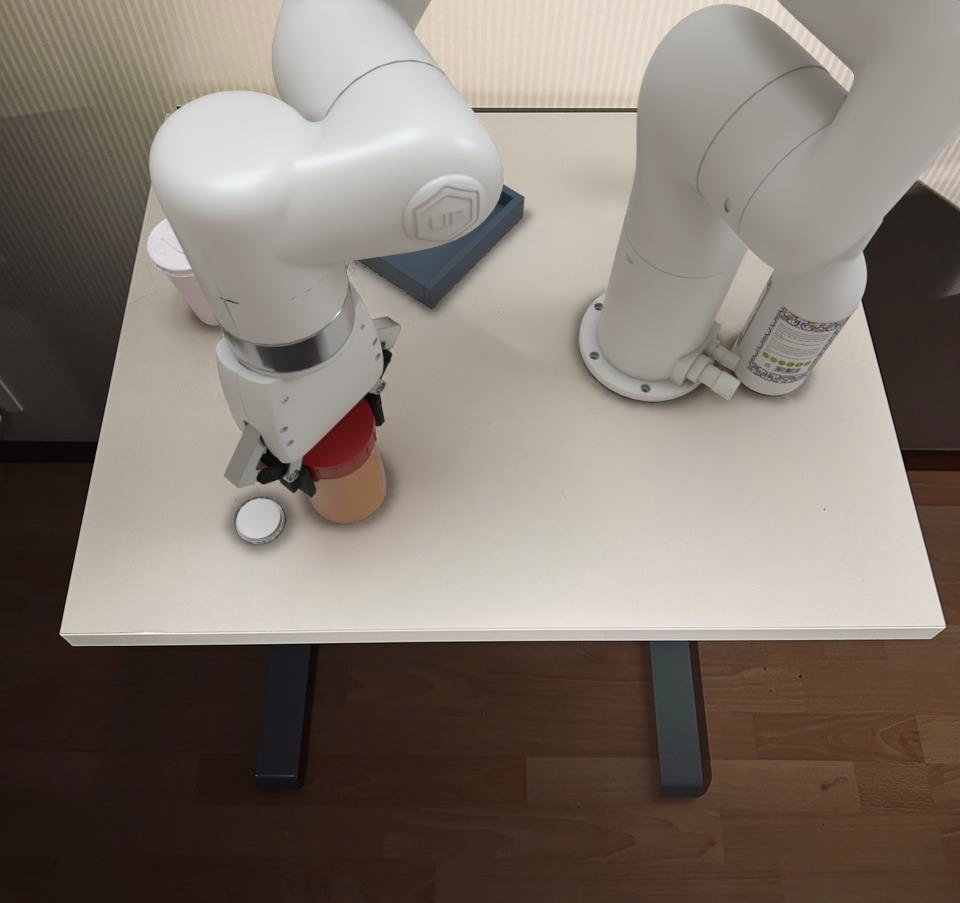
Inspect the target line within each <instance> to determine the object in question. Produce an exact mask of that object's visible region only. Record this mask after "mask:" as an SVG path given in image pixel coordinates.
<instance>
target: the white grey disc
mask: <svg viewBox="0 0 960 903" xmlns="http://www.w3.org/2000/svg"><path fill="white" fill-rule="evenodd" d="M284 512H285V511H284V510H283V508H282V505H280V504H279V502H278V501H277V500H276V499H274V498H272V497H270V496H265V495H258V496H252V497H251V498H248V499H247V500H245V501H244V502H243V503H241V504H240V505H239V506H238V508H237V510H236V512H235V514H234V519H233V525H234V529H235V531H236V533H237V534H238V535H239V537H240V538H241V539H242V540H243V541H245V542H246V543H250V544H254V545H262V544H266V543H268V542H271V541H272V540H274V539H276V537H278V536H279V534H280V533H281V532H282V530H283V528H284V525H285V513H284Z"/></svg>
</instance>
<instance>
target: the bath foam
mask: <svg viewBox="0 0 960 903" xmlns="http://www.w3.org/2000/svg"><path fill="white" fill-rule="evenodd" d="M883 221H884V217H883V218H882V220H881V221H880V222H879V223H878V224H877V225H876V226H875V227H874V228H873V229H872V230H871V231H870V232H869V233H868V234H867V235H866V236H865V237H864V238H863V239H862V240H861V241H860V242H859V243H857V244H856V245H855V246H854V247H853V248H852V249H850V250H849V251H848V252H847V253H845V254H844V255H843V256H842V257H840V258H839V259H837V260H836V261H834V262H833V263H831V264H829V265H827V266H825V267H823V268H821V269H819V270H816V271H813V272H810V273H806V274H788V273H783V272H780V271H778V270H776V269H773V271H772V272H771V275H770V277H769V278H768V280H767V283H766V284H765V286H764V288H763V289H762V291H761V293H760V295H759V297H758V299H757V301H756V303H755V304H754V306H753V308H752V310H751V312H750V314H749V315H748V318H747V320H746V321H745V324H744V325H743V327H742V329H741V331H740V333H739V335H738V337H737V339H736V340H735V342H734V345H733V347H732V350H731V352H733V353H735V354H736V355H738V356H740V357H741V360H740V362H739V363H738V365H737V366H736V368H735V369H734V370H733V372H734V374H735V376H736V378H737V379H738V380H740V381H741V383H742V384H743V385H744V386H745V387H747V388H748V389H750V390H752V391H754V392H755V393H758V394H761V395H765V396H782V395H787V394H789V393H791V392H794V391H795V390H797V389H798V388H799V387H801V385H802V384H803V383H804V381H806V378H807V377H808V376H809V375H810V373H811V372H812V371H813V369H814V368H815V367H816V365H817V364H818V362H819V361H820V360H821V358H822V357H823V355H824V354H825V353H826V352H827V350H828V349H829V347H830V346H831V345H832V344H833V342H834V340H835V339H836V338H837V336H838V335H839V333H840V332H841V331H842V330H843V328H844V327H845V325H846V324H847V322H848V321H849V320H850V319H851V317H852V316H853V314H854V313H855V312H856V310H857V309H858V307H859V305H860V303H861V301H862V299H863V296H864V293H865V291H866V286H867V280H868V269H867V263H866V259H865V254H864V250H865V249H866V247H867V245H868V244H869V243H870V241H871V240H872V238H873V237H874V235H875V234H876V232H877V231H878V229H879V228H880V227H881V225H882V223H883Z"/></svg>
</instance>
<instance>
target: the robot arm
mask: <svg viewBox="0 0 960 903" xmlns="http://www.w3.org/2000/svg"><path fill="white" fill-rule="evenodd" d="M776 1H777V2H778V3H779V4H780V5H781V6H782V7H783V8H784V9H785V10H786V11H787V12H788V13H789V14H790V15H791V16H792V17H793V18H794V19H795V20H797V22H799V24H801V25H802V26H803V27H804V28H805V29H806V30H807V31H808V32H810V34H812V35H813V37H815V38H816V39H817V40H818V41H819V42H820V43H821V44H822V45H823V46H824V47H825V48H826V49H827V50H829V51H830V52H831V53H832V54H833V55H834V56H835V57H836V58H837V59H838V60H839V61H840V62H842V63H843V64H844V66H846V67H847V68H848V69H849V70H850V71H851V72H852V74H853V81H852V85H851V87H850V89H849V91H848V90H847V89H846V88H845V87H844V86H843V85H842V84H840V82H838V81H837V80H836V78H834V77H833V76H832V75H831V73H830V71H828V69H827V68H826V67H825V66H823V64H821V62H819V61H818V60H817V59H816V58H815V57H814V56H813V55H812V54H811V53H810V52H809V51H808V50H806V49H805V47H803V46H802V44H800V43H799V42H798V41H797V40H796V39H795V38H794V37H793V36H792V35H790V34H789V33H788V32H787V31H786V30H785V29H783V28H782V27H781V26H780V25H778V24H777V23H776V22H774V21H773V20H772V19H770V18H769V17H768V16H765V15H764V14H762V13H760V12H758V11H757V10H754V9H752V8H750V7H746V6H743V5H739V4H730V3H721V4H712V5H709V6H706V7H703V8H699V9H697V10H695V11H693V12H691V13H689V14H688V15H687V16H685V17H684V18H682V19H680V21H678V22H677V23H675V25H674V26H673V27H671V29H670V30H669V31H668V32H667V33H666V35H664V36H663V37H662V39H661V40H660V42H659V43H658V45H657V46H656V48H655V50H654V51H653V53H652V55H651V57H650V59H649V61H648V64H647V66H646V68H645V70H644V74H643V76H642V80H641V84H640V88H639V93H638V97H637V98H638V99H637V107H636V108H637V109H636V128H635V129H636V130H635V132H636V133H635V134H636V139H635V140H636V144H635V145H636V146H635V147H636V148H635V151H636V153H635V168H634V175H633V179H632V180H633V181H632V185H631V190H630V195H629V199H628V204H627V208H626V212H625V215H624V218H623V221H622V222H623V223H622V226H621V231H620V234H619V239H618V243H617V247H616V251H615V255H614V258H613V263H612V267H611V271H610V275H609V279H608V283H607V287H606V291H605V292H603V293H601V294H600V295H599V296H598V297H596V298H595V299H594V300H593V301H592V302H591V304H590V305H588V307H587V308H586V310H585V312H584V315H583V317H582V319H581V323H580V325H579V332H578V334H579V335H578V346H579V352H580V355H581V357H582V361H583V363H584V364H585V366H586V367H587V369H588V371H589V372H590V373H591V374H592V375H593V377H595V379H596V380H597V381H598V382H599V383H601V384H602V385H603V386H604V387H606V388H607V389H608V390H610V391H612V392H614V393H616V394H617V395H620V396H622V397H625V398H628V399H631V400H635V401H641V402H664V401H665V402H666V401H670V400H674V399H678V398H680V397H683V396H685V395H687V394H689V393H690V392H692V391H693V390H695V389H696V388H698V387H699V386H700V385H701V384H704V386H706V387H708V388H710V389H711V391H713V392H714V393H716V394H718V395H719V396H721V397H722V398H724V399H726V400H727V401H729V400H730V399H731V398H732V397H733V395H734V394H735V392H736V391H737V390H738V388H739V386H740V385H741V383H742V382H741V381H740V380H739V379H738V378H737V377H735V376H733V375H731V374H730V373H729V372H727V371H725V370H721V369H720V368H718V367H716V366H715V365H714V363H715V361H717V362H718V363H720V365H722V366H724V368H727V369H728V370H730V371H732V372H734V369H735V368H736V366H737V365H738V363H739V362H740V360H741V357H740V356H738V355H736V354H735V353H733V352H732V350H728V349H727V348H725V347H723V346H721V345H720V343H721V341H720V340H718V339H717V335H718V333H719V331H720V330H721V327H722V324H721V323H720V322H719V321H717V320H716V318H717V316H718V315H719V311H720V309H721V308H722V305H723V303H724V301H725V299H726V297H727V295H728V293H729V290H730V289H731V287H732V284H733V282H734V280H735V277H736V275H737V274H738V271H739V269H740V267H741V264H742V262H743V261H744V258H745V256H746V254H747V253H748V251H749V250H750V251H751V252H752V253H753V255H755V257H757V258H758V259H759V260H760V261H762V262H763V263H764V264H766V265H767V266H769V267H770V268H772V269H773V270H774V269H776V270H778V271H780V272H783V273H788V274H806V273H810V272H813V271H816V270H819V269H821V268H823V267H825V266H827V265H829V264H831V263H833V262H834V261H836V260H837V259H839V258H840V257H842V256H843V255H844V254H845V253H847V252H848V251H849V250H850V249H852V248H853V247H854V246H855V245H856V244H857V243H859V242H860V241H861V240H862V239H863V238H864V237H865V236H866V235H867V234H868V233H869V232H870V231H871V230H872V229H873V228H874V227H875V226H876V225H877V224H878V223H879V222H880V221H881V220H882V218H883V219H884V218H885V217H886V216H887V214H888V213H889V212H890V211H891V210H893V208H895V205H897V203H898V202H899V201H900V200H901V199H902V198H903V196H905V195H906V193H907V192H908V191H909V190H910V189H911V188H912V186H913V185H914V184H915V183H916V182H917V181H918V180H919V179H920V178H921V176H922V175H923V174H924V173H925V172H926V171H927V170H928V168H929V167H930V166H931V165H932V164H933V163H934V162H935V161H936V159H938V157H939V156H940V155H941V154H942V153H943V152H944V151H945V150H946V148H948V146H949V145H950V144H951V143H952V142H953V141H954V140H955V139H956V137H957V136H958V135H959V134H960V0H776ZM431 2H432V0H283V2H282V4H281V6H280V9H279V12H278V16H277V20H276V23H275V27H274V32H273V37H272V42H271V71H272V76H273V80H274V85H275V88H276V91H277V94H278V96H279V98H278V97H275V96H273V95H271V94H267V93H263V92H260V91H253V90H246V89H245V90H243V89H242V90H239V89H238V90H223V91H217V92H213V93H208V94H206V95H202V96H200V97H198V98H195V99H193V100H191V101H190V102H187V103H186V104H184V105H182V106H180V107H178V109H176V110H175V111H174V112H172V113H171V115H169V116H168V117H167V118H166V120H164V122H163V123H162V124H161V125H160V127H159V128H158V130H157V132H156V135H154V138H153V141H152V143H151V146H150V149H149V162H148V170H149V171H148V172H149V177H150V181H151V185H152V188H153V190H154V193H155V195H156V198H157V200H158V203H159V205H160V207H161V209H162V211H163V213H164V216H165V217H166V218H167V219H168V221H169V223H170V226H171V228H172V230H173V232H174V234H175V236H176V238H177V240H178V242H179V244H180V246H181V248H182V250H183V252H184V254H185V256H186V258H187V260H188V262H189V265H190V267H191V269H192V271H193V273H194V275H195V277H196V279H197V281H198V283H199V285H200V287H201V289H202V291H203V294H204V296H205V298H206V300H207V302H208V304H209V306H210V308H211V310H212V312H213V314H214V316H215V319H216V321H217V323H218V325H217V326H218V327H219V329H220V331H221V333H222V337H221V338H220V339H219V340H218V341H217V343H216V345H215V354H216V355H215V356H216V366H217V372H218V376H219V377H218V378H219V382H220V386H221V388H222V392H223V395H224V399H225V402H226V403H227V407H228V408H229V411H230V414H231V416H232V418H233V421H234V423H235V425H236V426H237V428H238V429H239V430H240V431H241V432H242V435H241V437H240V438H239V441H238V443H237V445H236V447H235V449H234V451H233V454H232V456H231V458H230V460H229V462H228V465H226V466H227V467H226V469H225V471H224V473H223V477H224V478H225V479H226V480H227V481H228V482H230V483H231V484H232V485H233V486H235V488H237V489H243V488H246V487H251V486H254V485H255V484H256V483H259V484H261V485H263V486H264V485H267V484H270V483H273V482H276V481H279V482H280V484H281V485H282V486H283V487H285V488H286V489H287V490H288V491H289V492H291V493H292V494H295V493H296V492H298V490H300V491H301V492H303V493H304V494H305V495H306V496H307V497H308V496H309V497H311V498H312V497H313V496H314V495H315V494H316V490H317V489H316V486H315V484H314V482H313V479H312V477H311V475H310V472H309V471H308V469H307V468H306V467H304V466H303V465H302V460H303V456H304V455H305V454H306V453H307V452H308V451H309V450H310V449H311V448H313V447H314V446H315V445H316V444H317V443H318V442H319V441H320V440H321V439H322V438H323V437H324V436H325V435H326V434H327V433H328V432H329V431H330V430H331V429H332V428H333V427H334V426H335V425H336V424H337V423H338V422H339V421H340V420H341V419H342V418H343V417H344V416H345V415H346V414H347V413H348V412H349V411H350V410H351V409H352V408H353V407H354V406H355V405H356V404H357V403H358V402H359V401H360V400H361V399H362V398H363V397H364V398H365V400H366V401H367V402H368V404H369V405H370V408H371V410H372V413H373V415H374V416H375V421H376V425H375V426H376V428H379V427H382V426H383V425H384V424H385V423H386V419H385V414H384V409H383V400H382V396H381V393H383V392H384V390H385V388H386V386H387V381H385V379H383V377H384V374H385V373H386V370H387V368H388V366H389V364H390V363H391V362H392V358H393V352H392V351H391V349H394V347H395V345H396V342H397V340H398V338H399V335H400V333H401V330H402V325H401V324H400V323H398V322H397V321H395V320H393V319H392V318H390V316H382V317H376V318H373V317H372V315H371V313H370V311H369V309H368V307H367V305H366V303H365V302H364V300H363V299H362V297H361V295H360V293H359V292H358V290H357V289H356V288H355V286H354V285H353V283H352V282H350V280H349V275H348V271H347V270H348V266H349V265H350V262H353V261H359V260H361V259H368V258H375V257H382V256H389V255H396V254H403V253H409V252H415V251H421V250H425V249H429V248H433V247H437V246H440V245H443V244H446V243H448V242H451V241H454V240H456V239H458V238H460V237H462V236H464V235H466V234H468V233H469V232H471V231H472V230H474V229H475V228H476V227H478V226H479V225H480V224H481V223H482V222H483V221H484V220H485V219H486V218H487V217H488V216H489V215H490V213H491V212H492V211H493V209H494V208H495V206H496V204H497V202H498V200H499V198H500V195H501V192H502V188H503V184H504V181H505V180H504V178H505V177H504V164H503V161H502V156H501V154H500V151H499V148H498V147H497V144H496V142H495V141H494V139H493V137H492V136H491V134H490V132H489V130H488V129H487V127H486V126H485V125H484V123H483V122H482V121H481V119H480V117H478V115H477V113H476V112H475V111H474V109H473V108H472V107H471V106H470V104H468V102H467V101H466V99H465V98H464V97H463V96H462V94H461V93H460V92H459V90H458V89H457V88H456V87H455V85H454V84H453V82H452V81H451V80H450V79H449V77H448V76H447V74H446V73H445V72H444V71H443V69H442V68H441V66H440V65H439V64H438V62H437V61H436V60H435V58H434V57H433V56H432V54H431V53H430V52H429V50H428V49H427V48H426V46H425V45H424V43H423V42H422V41H421V39H420V38H419V37H418V36H417V34H416V32H415V30H416V29H417V27H418V24H419V23H420V21H421V19H422V18H423V15H424V14H425V13H426V10H427V8H428V7H429V5H430V4H431ZM309 497H308V498H309Z"/></svg>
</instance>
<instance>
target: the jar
mask: <svg viewBox="0 0 960 903" xmlns="http://www.w3.org/2000/svg"><path fill="white" fill-rule="evenodd" d="M376 438H377V439H378V437H377V436H376ZM311 477H312V479H313V482H314V484H315V486H316V489H317V490H316V494H315V495H314V496H313V497H312V498H311V497H309V496H308V495H307V498H308V499H309V502H310V505H311V506H312V507H313V509H314V510H315V511H316V513H317V514H319V516H320V517H322V518H323V519H325V520H327V521H329V522H332V523H336V524H344V525H345V524H353V523H354V524H355V523H358V522H362V521H363V520H365V519H367V518H370V517H371V516H372V515H373V514H374V513H375V512H376V511H377V510H378V509H379V508H380V506H381V505H382V503H383V502H384V501H385V497H386V495H387V490H388V489H387V487H388V482H387V477H386V473H385V468H384V463H383V459H382V455H381V450H380V445H379V441H378V440H377V441H375V445H374V448H373V450H372V452H371V454H370V457H368V459H367V460H366V461H365V462H364V463H363V464H362V465H361V466H360V467H358V468H357V470H356V469H355V470H354V471H352V472H350V473H348V474H346V475H343V476H340V477H335V478H321V479H320V478H317V477H313V476H311Z"/></svg>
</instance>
